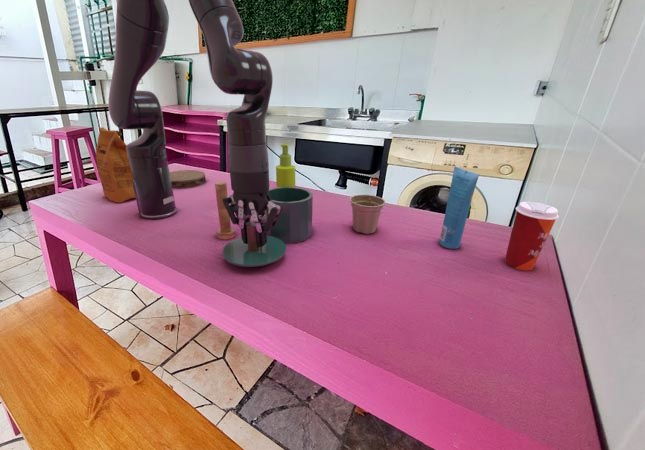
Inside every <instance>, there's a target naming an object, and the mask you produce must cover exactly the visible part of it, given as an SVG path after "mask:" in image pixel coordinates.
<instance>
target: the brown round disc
mask: <svg viewBox="0 0 645 450" xmlns="http://www.w3.org/2000/svg"><path fill="white" fill-rule="evenodd" d="M169 172H170V177H171V183H172V189H173V190H174V189H177V190H178V189H179V190H180V189H189V188H190V189H191V188H196V187H200V186H202V185H205V183H206V182H207V180H206V172H204V171H202V170H195V169H184V170H183V169H182V170H181V169H180V170H174V171H169Z"/></svg>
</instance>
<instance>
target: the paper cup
mask: <svg viewBox="0 0 645 450" xmlns="http://www.w3.org/2000/svg"><path fill="white" fill-rule="evenodd" d="M515 211H516V212H515V216H514V221H513V224H512V227H511V228H512V229H511V233H510V237H509V240H508V245H507V248H506V253H505V258H504V262H505V264H507V266H509V267H510V268H513V269H516V270H518V271H525V272H528V271H532V270H533V269H534V267H535V265H536V263H537V261H538V260H539V257H540V255H541V252H542V251H543V248H544V246H545V244H546V242H547V240H548V238H549V235H550V234H551V231H552V229H553V227H554V225H555V222H556V220H558V219H559V217H560V216H559V210H558V209H557V208H556V207H555V206H552V205H549V204H546V203H542V202H537V201H521V202H519V204H518V206H516V207H515Z"/></svg>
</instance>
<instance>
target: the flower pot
mask: <svg viewBox="0 0 645 450" xmlns="http://www.w3.org/2000/svg"><path fill="white" fill-rule="evenodd" d="M349 202H350V206H351V210H352V228H353V230H354V231H355V232H356V233H362V234H364V235H370V234H374V233H375V232H376V230H377V227H378V222H379V219H380V215H381V212H382V210H383V208H384V206H385V205H386V200H385V199H384V198H382V197H380V196H376V195H373V194H355V195H352V196H351V197H349Z"/></svg>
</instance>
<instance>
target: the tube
mask: <svg viewBox="0 0 645 450" xmlns="http://www.w3.org/2000/svg"><path fill="white" fill-rule="evenodd" d="M479 178H480V174H479V173H476V172H473V171H469V170H466V169H463V168H461V167H457V166H454V167H453V171H452V178H451V183H450V186H449V187H450V188H449V192H448V198H447V203H446V208H445V213H444V217H443V222H442V226H441V232H440V236H439V241H438V243H439V245H440V246H441V247H443V248H445V249H451V250H453V249H454V250H457V249H459V248H460V247H461V243H462V240H463V239H462V238H463V235H464V231H465V227H466V223H467V219H468V216H469V211H470V207H471V205H472V200H473V197H474V194H475V190H476V186H477V183H478V180H479Z"/></svg>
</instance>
